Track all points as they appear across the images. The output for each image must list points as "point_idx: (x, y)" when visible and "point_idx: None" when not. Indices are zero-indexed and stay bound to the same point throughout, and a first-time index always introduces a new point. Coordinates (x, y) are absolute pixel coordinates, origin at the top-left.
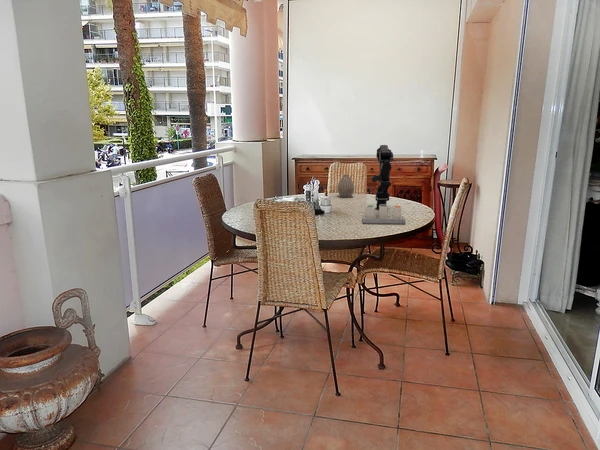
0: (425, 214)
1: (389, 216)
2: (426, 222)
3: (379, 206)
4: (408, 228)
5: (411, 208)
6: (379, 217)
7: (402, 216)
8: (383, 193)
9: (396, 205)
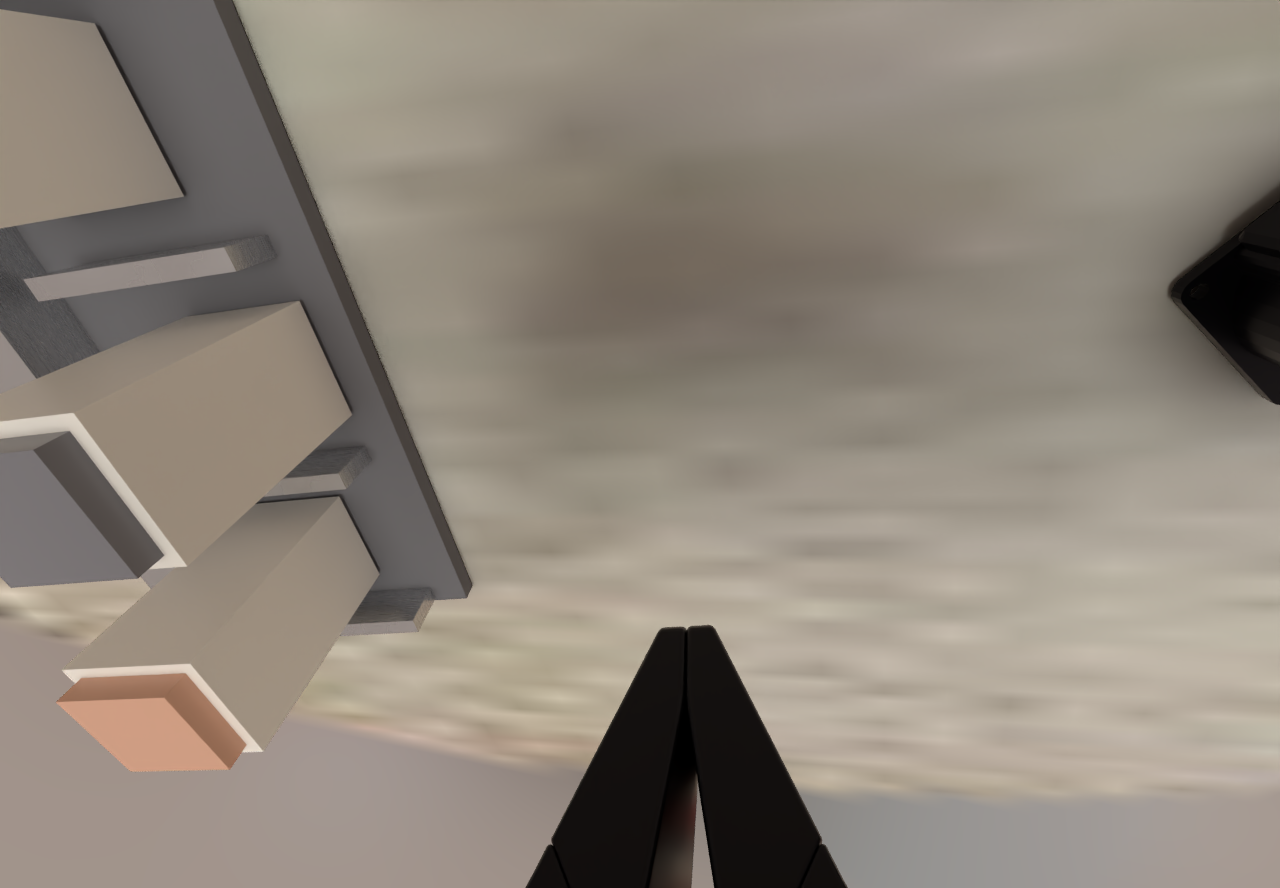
0: (831, 766)
1: (298, 481)
2: (456, 746)
3: (65, 404)
4: (114, 619)
5: (1233, 685)
6: (152, 331)
7: (388, 625)
8: (630, 700)
9: (141, 725)
